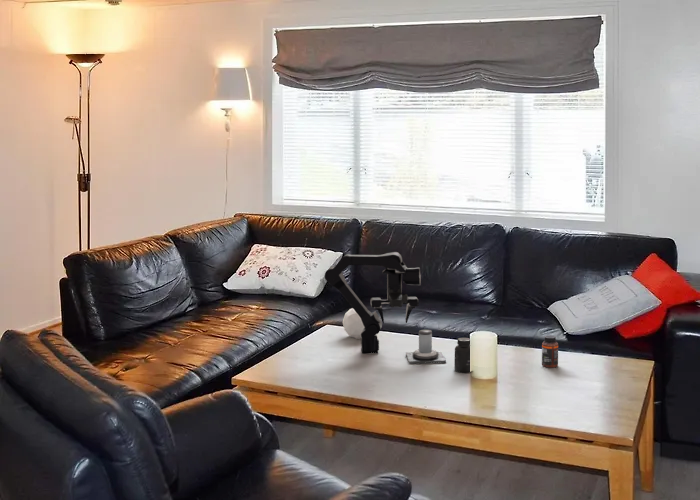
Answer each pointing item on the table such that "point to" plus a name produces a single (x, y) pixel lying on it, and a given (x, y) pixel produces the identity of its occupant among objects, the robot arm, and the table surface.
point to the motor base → (425, 357)
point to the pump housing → (425, 341)
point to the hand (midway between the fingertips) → (394, 323)
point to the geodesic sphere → (353, 324)
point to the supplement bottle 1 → (462, 356)
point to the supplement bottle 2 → (550, 352)
